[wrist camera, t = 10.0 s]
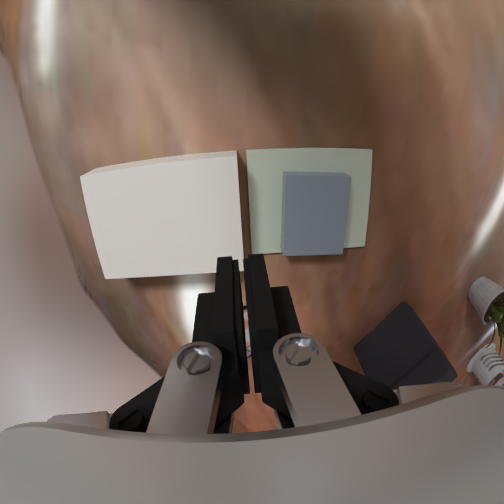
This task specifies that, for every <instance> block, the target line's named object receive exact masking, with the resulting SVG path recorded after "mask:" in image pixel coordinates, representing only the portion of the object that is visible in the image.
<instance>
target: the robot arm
mask: <svg viewBox="0 0 504 504" xmlns="http://www.w3.org/2000/svg"><path fill="white" fill-rule="evenodd" d="M243 267H244V279H245V291H246V303H247V315H248V327H249V337H250V348H251V358H252V368H253V378H254V388H255V393H261V394H262V401H263V403H265V404H267V405H268V406H270V407H271V408H273V409H274V414H275V417H276V420H277V423H278V426H279V429H278V430H269V431H258V432H246V433H232V430H233V423H234V412H235V411H236V410H237V409H238V408H239V407H240V406H241V405H242V404H243V403H244V394H250V389H249V376H248V363H247V349H246V336H245V322H244V312H243V302H242V292H241V283H240V273H239V262H238V259H237V260H233V259H232V256H226V257H217V267H216V282H215V292H212V293H199V294H198V300H197V307H196V315H195V323H194V331H193V339H192V343H188V344H186V345H184V346H182V347H180V348H179V349H178V350H177V351H176V352H175V353H174V355H173V357H172V359H171V362H170V365H169V367H168V370H167V373H166V376H164V377H163V378H162V379H160V380H159V381H157V382H156V383H155V384H153V385H152V386H150V387H149V388H147V389H146V390H145V391H143V392H141V393H140V394H139V395H137V396H136V397H134V398H133V399H131V400H130V401H128V402H127V403H126V404H124V405H122V406H121V407H119V408H118V409H117V410H116V411H115V412H114V413H113V414H109V413H108V412H107V411H102V412H93V413H81V414H66V415H57V416H53V417H52V418H50V419H49V420H48V421H47V422H30V423H24V424H18V425H15V426H12V427H9V428H7V429H5V430H4V431H2V432H1V433H0V504H504V387H500V386H493V385H475V386H467V387H463V386H462V385H460V384H458V383H456V382H442V383H433V384H423V385H411V386H399V387H398V389H397V390H392V389H391V388H389V387H388V386H386V385H384V384H382V383H380V382H377V381H375V380H373V379H370V378H368V377H366V376H364V375H362V374H359V373H357V372H355V371H353V370H351V369H348V368H346V367H344V366H342V365H340V364H338V363H335V362H333V361H332V360H331V358H330V357H329V355H328V353H327V351H326V349H325V348H324V346H323V344H322V343H321V342H320V341H319V340H318V339H317V338H315V337H314V336H311V335H308V334H304V333H301V330H300V326H299V323H298V319H297V316H296V312H295V309H294V305H293V302H292V298H291V295H290V291H289V288H288V286H281V287H271V288H270V285H269V280H268V275H267V270H266V265H265V260H264V255H263V253H261V254H249V255H248V259H243Z"/></svg>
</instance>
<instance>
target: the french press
mask: <svg viewBox="0 0 504 504" xmlns="http://www.w3.org/2000/svg"><path fill="white" fill-rule="evenodd" d="M488 345H489V344H488ZM488 345H486V346H484V347H483V348H484V349H483V348H482V349H480V350H479V351H478V352H477V353H476V354H475V355H474V356H473V358H472V359H471V360H470V362H469V364H468V366H467V371H468V372H473V373H474V375H476V378H477V380H478V381H479V383H480V382H481V383H480V384H481V385H490V384H491V383H492V382H493V380H495V382H494V384H493V386H500V387H503V386H504V376H503V374H502V373H501V371H502V372H504V362H503V361H502V359H501V358H500V356H499V355H498V354H497V352H496V351H495V347H496V345H495V343H491V344H490V346H489V347H487V346H488ZM485 347H487V348H485ZM498 357H499V358H498ZM493 360H496V362H493ZM495 364H499V366H496V365H495Z"/></svg>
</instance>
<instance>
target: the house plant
mask: <svg viewBox="0 0 504 504" xmlns="http://www.w3.org/2000/svg"><path fill="white" fill-rule="evenodd" d="M468 298H469V300H470V302H471V303H472V305H473V307H474V308H475V310H476V312H477V313H478V315H479V317H480V318H481V320H482V322H483V324H485V325H491V324H493V323H494V327H495V322H496V324H497V327H498V334H499V336H500V352H501V345H502V337H503V341H504V288H503V287H501V286H500V285H498V284H496V283H495V282H493V281H491V280H490V279H488V278H486V277H484V276H482V277H479V278H478V279H476V280H475V281H474V282H473V284H472V285H471V287H470V289H469V292H468ZM494 335H495V329H494ZM494 335H493V338H494ZM493 338H492V340H491V342H490V343H489V345H488V346H487V347H489V346H490V344H491V343H492V341H493ZM487 347H485V348H487ZM483 349H484V348H483ZM500 352H499V355H500ZM498 358H499V357H498Z"/></svg>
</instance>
